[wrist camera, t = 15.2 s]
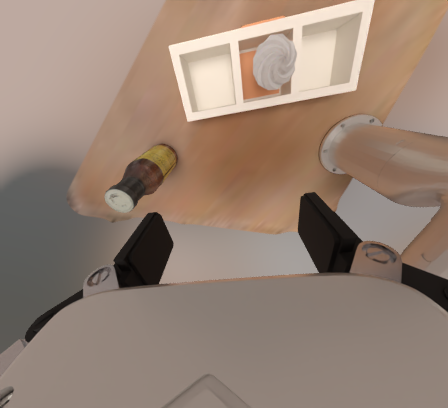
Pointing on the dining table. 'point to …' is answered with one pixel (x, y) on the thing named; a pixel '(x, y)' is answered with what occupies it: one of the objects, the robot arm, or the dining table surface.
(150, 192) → the sauce bottle
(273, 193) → the dining table surface
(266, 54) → the ice cream cone
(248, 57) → the compartment tray
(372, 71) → the dining table surface
